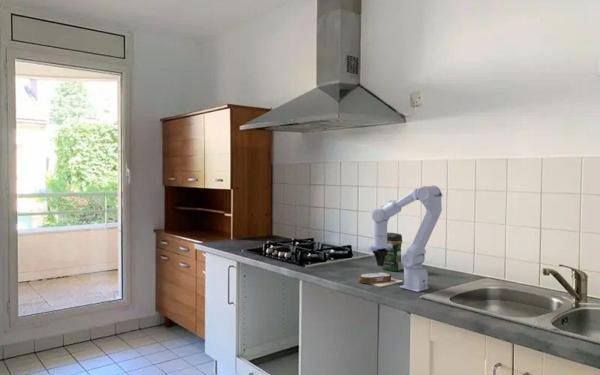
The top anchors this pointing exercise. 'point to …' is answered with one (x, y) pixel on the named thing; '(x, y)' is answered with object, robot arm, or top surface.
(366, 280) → the orange-brown flat oval
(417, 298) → the top surface
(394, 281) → the birch board
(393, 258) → the coffee jar
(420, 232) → the robot arm
